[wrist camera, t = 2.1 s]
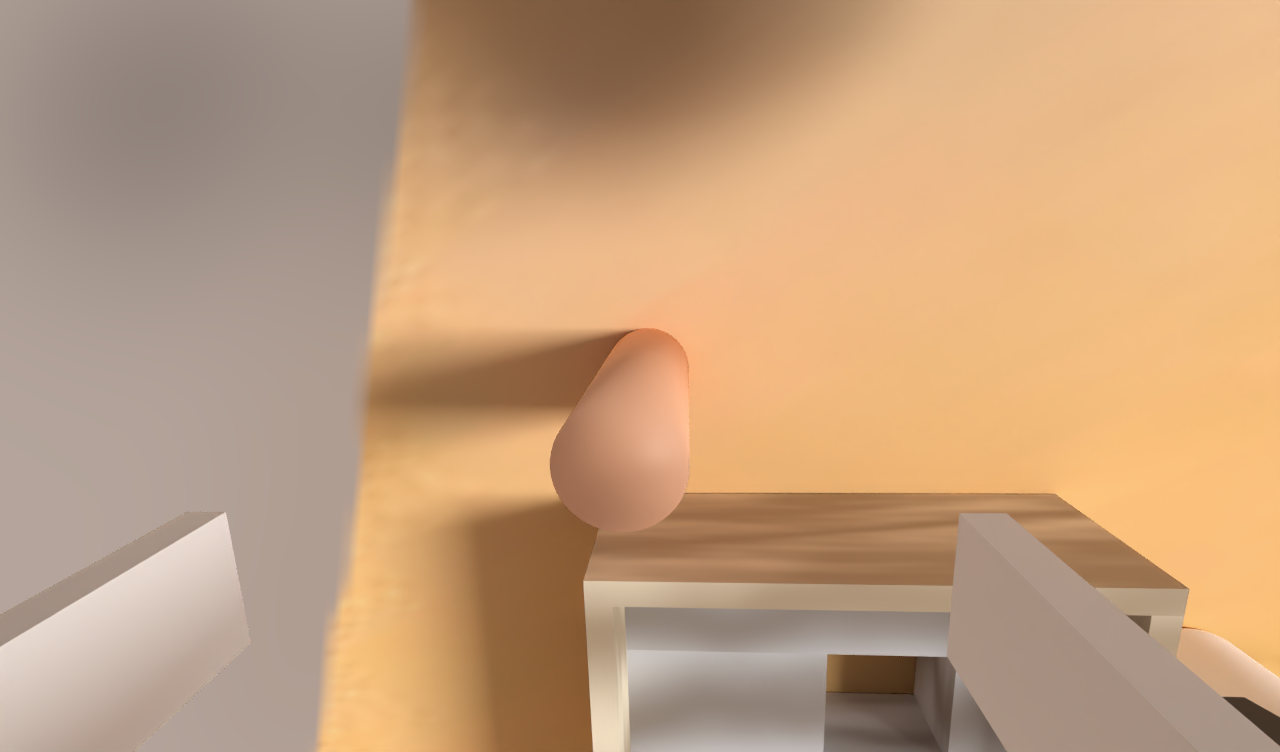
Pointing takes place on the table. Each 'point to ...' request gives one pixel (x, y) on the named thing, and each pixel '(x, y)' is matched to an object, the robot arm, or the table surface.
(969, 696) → the socket box
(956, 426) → the table surface
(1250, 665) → the mug
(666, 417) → the peg
